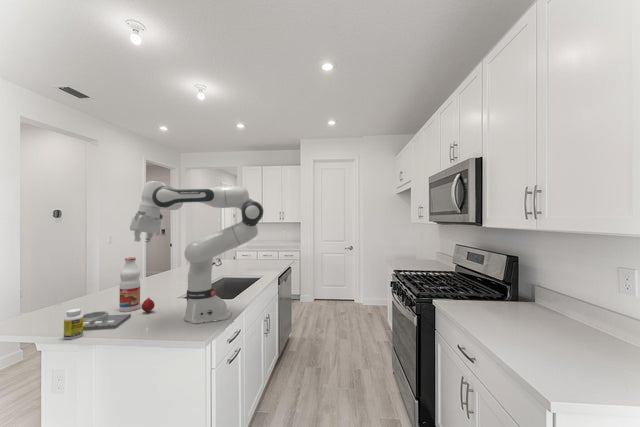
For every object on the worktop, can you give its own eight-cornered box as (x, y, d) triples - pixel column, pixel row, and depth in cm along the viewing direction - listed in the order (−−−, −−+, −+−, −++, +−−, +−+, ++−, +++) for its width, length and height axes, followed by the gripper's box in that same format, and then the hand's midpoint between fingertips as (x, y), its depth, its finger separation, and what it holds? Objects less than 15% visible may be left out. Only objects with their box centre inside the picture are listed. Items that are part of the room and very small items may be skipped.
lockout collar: (111, 315, 142) (111, 310, 142) (100, 323, 132) (100, 318, 132) (88, 317, 140) (88, 312, 140) (75, 325, 130) (75, 319, 130)
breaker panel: (130, 317, 145) (130, 311, 145) (115, 328, 130) (115, 322, 130) (90, 319, 141) (90, 313, 141) (70, 331, 127) (70, 325, 127)
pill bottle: (71, 340, 118) (72, 313, 118) (59, 339, 119) (60, 312, 119) (86, 334, 124) (87, 308, 124) (75, 333, 125) (75, 307, 125)
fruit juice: (143, 306, 161) (144, 256, 162) (132, 312, 152) (132, 259, 152) (127, 306, 162) (128, 256, 162) (115, 311, 152) (115, 259, 153)
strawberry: (140, 315, 148) (140, 299, 148) (143, 311, 153) (143, 296, 153) (152, 314, 149) (152, 298, 149) (155, 310, 155) (156, 295, 155)
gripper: (144, 211, 129) (137, 241, 127) (164, 216, 149) (159, 243, 147) (129, 209, 128) (122, 240, 126) (152, 215, 149) (146, 241, 147)
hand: (142, 241), depth 137 cm, fingers open, 8 cm apart
